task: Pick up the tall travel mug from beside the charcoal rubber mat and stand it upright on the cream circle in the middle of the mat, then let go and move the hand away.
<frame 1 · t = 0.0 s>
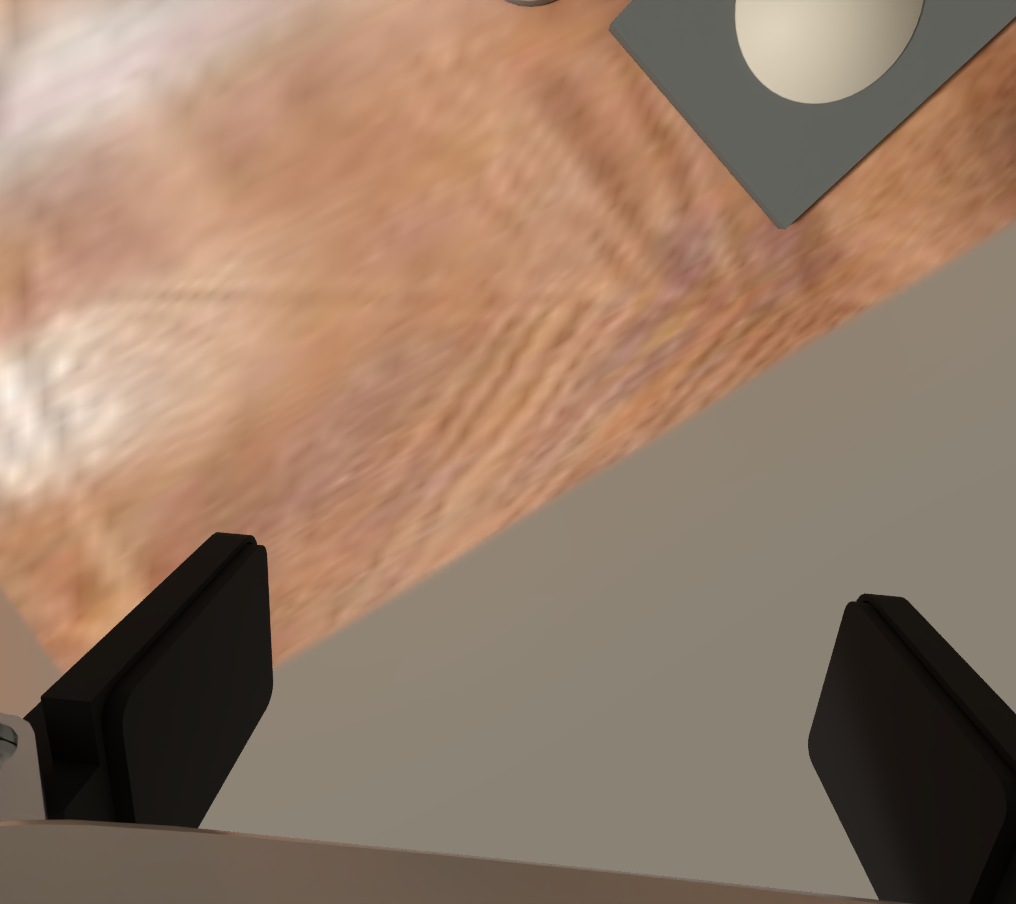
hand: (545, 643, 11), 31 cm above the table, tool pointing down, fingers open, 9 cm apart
mat: (818, 9, 34), on the table
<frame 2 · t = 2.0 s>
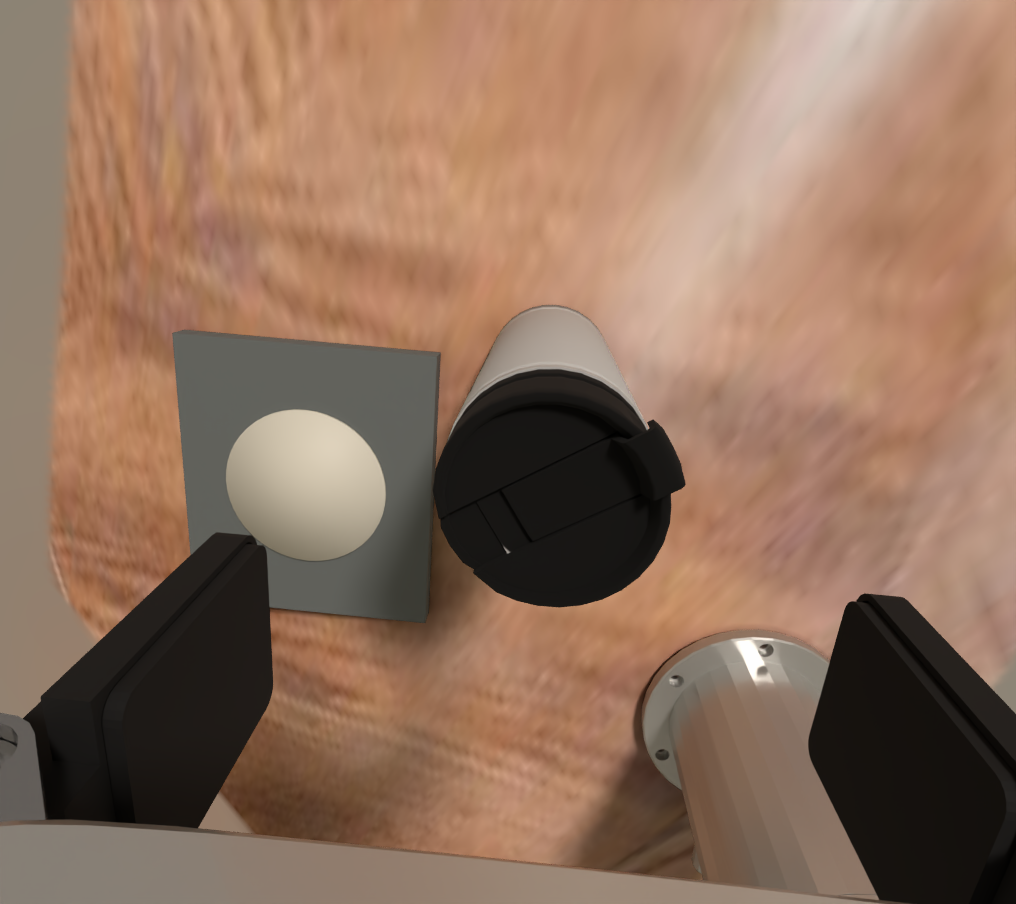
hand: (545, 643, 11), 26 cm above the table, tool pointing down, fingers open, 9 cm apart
travel mug: (552, 361, 36), on the table
mat: (313, 479, 38), on the table
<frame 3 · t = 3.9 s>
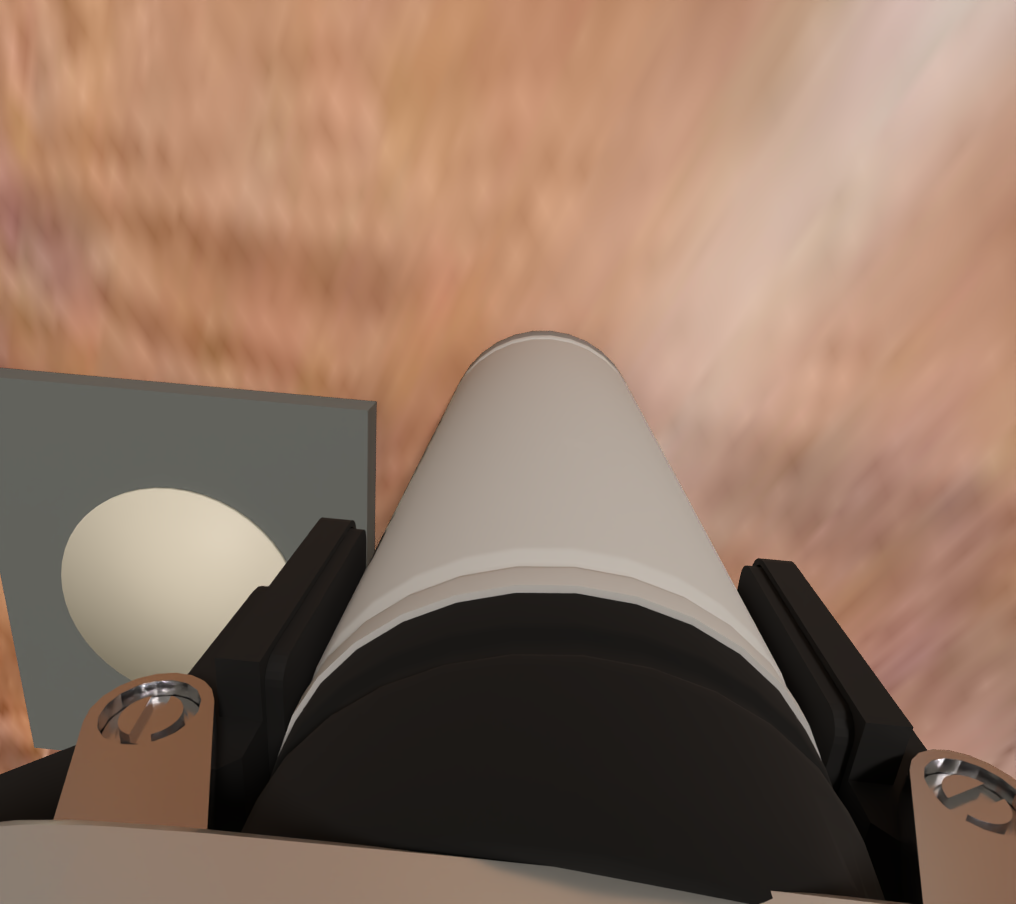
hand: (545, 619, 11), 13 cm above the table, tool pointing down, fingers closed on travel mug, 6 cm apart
travel mug: (546, 415, 24), on the table, touching gripper
mat: (198, 581, 26), on the table
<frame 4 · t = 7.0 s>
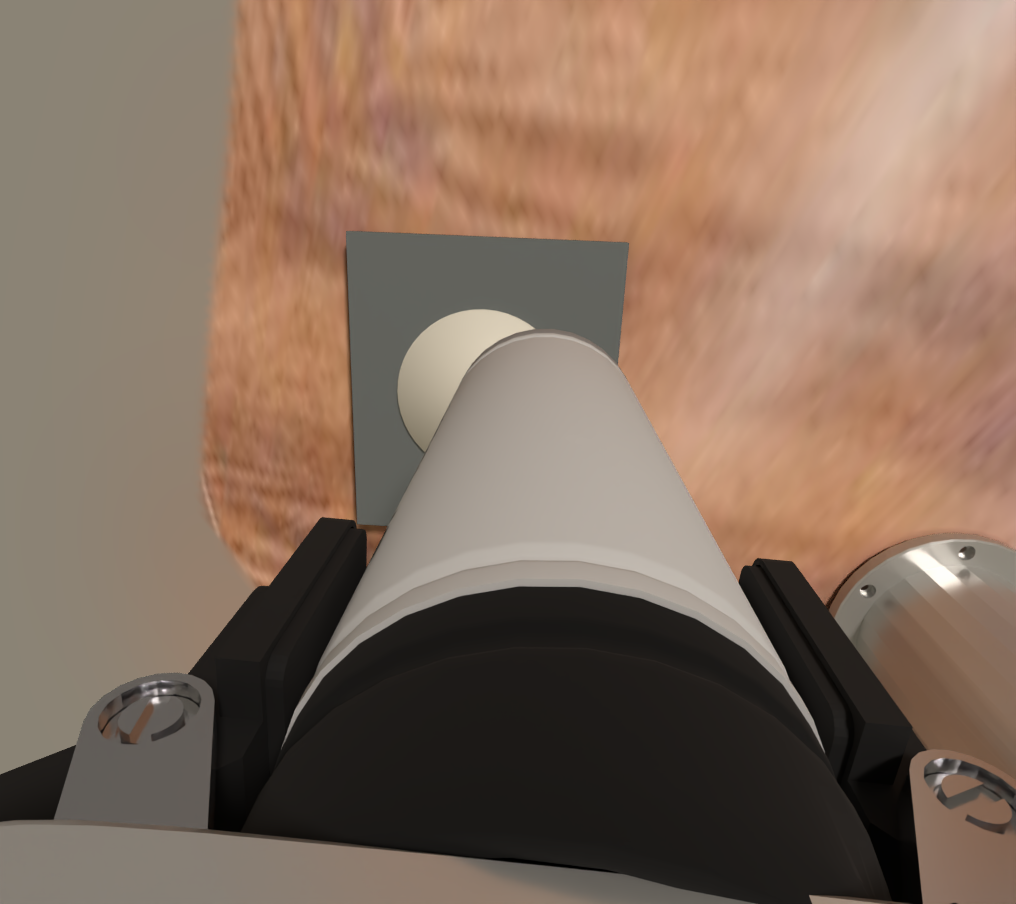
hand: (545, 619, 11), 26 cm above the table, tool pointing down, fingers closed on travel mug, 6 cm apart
travel mug: (547, 413, 24), point 13 cm above the table, touching gripper
mat: (484, 389, 37), on the table
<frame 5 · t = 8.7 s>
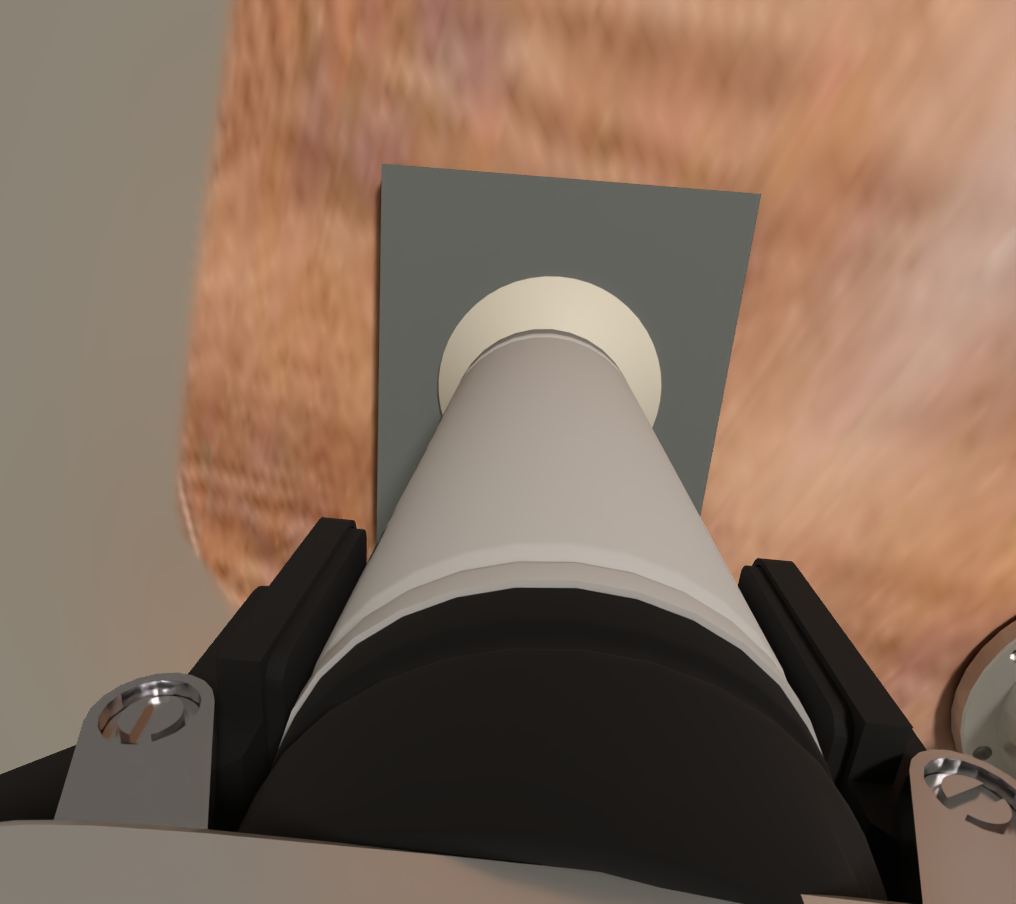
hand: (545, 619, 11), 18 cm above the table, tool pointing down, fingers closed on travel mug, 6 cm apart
travel mug: (546, 413, 23), point 5 cm above the table, touching gripper
mat: (548, 383, 28), on the table
when the fingers open (15 cm above the table, at t = 10.1 s): travel mug drops 1 cm, resting on mat.
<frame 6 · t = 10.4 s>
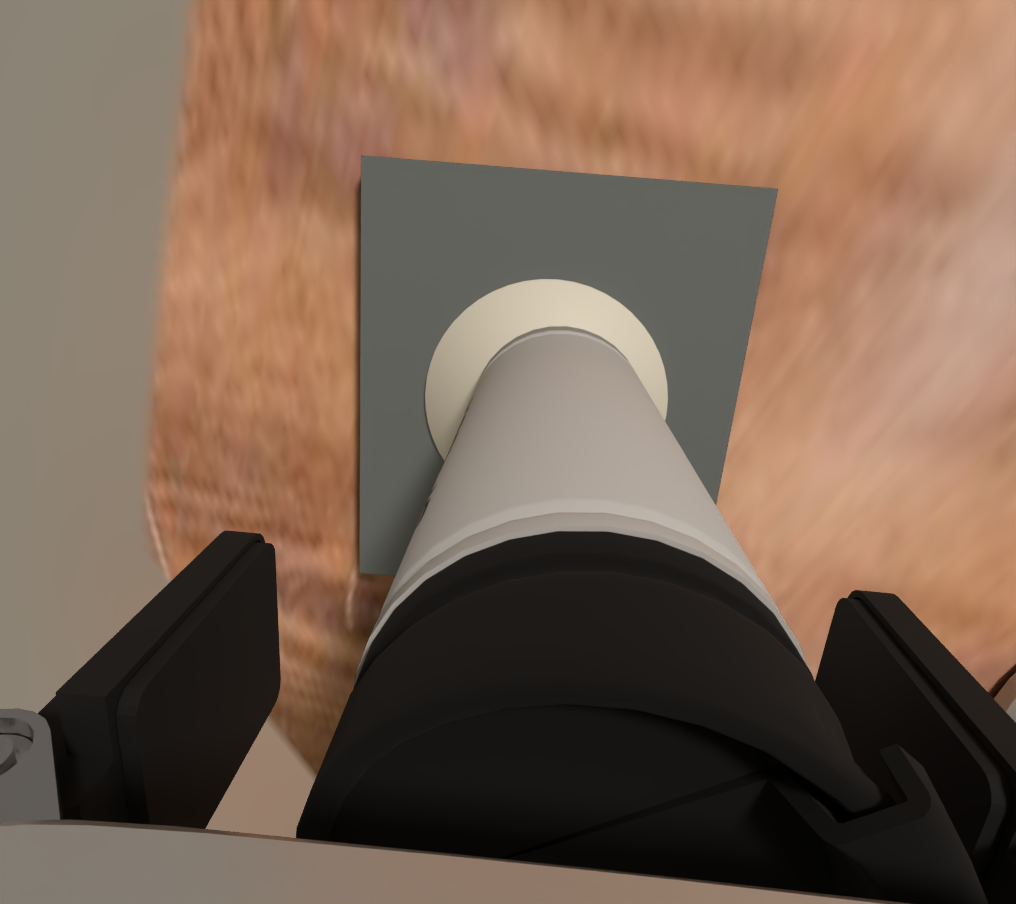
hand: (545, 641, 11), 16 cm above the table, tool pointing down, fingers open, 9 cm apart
travel mug: (561, 406, 25), point 1 cm above the table, touching mat
mat: (545, 394, 26), on the table
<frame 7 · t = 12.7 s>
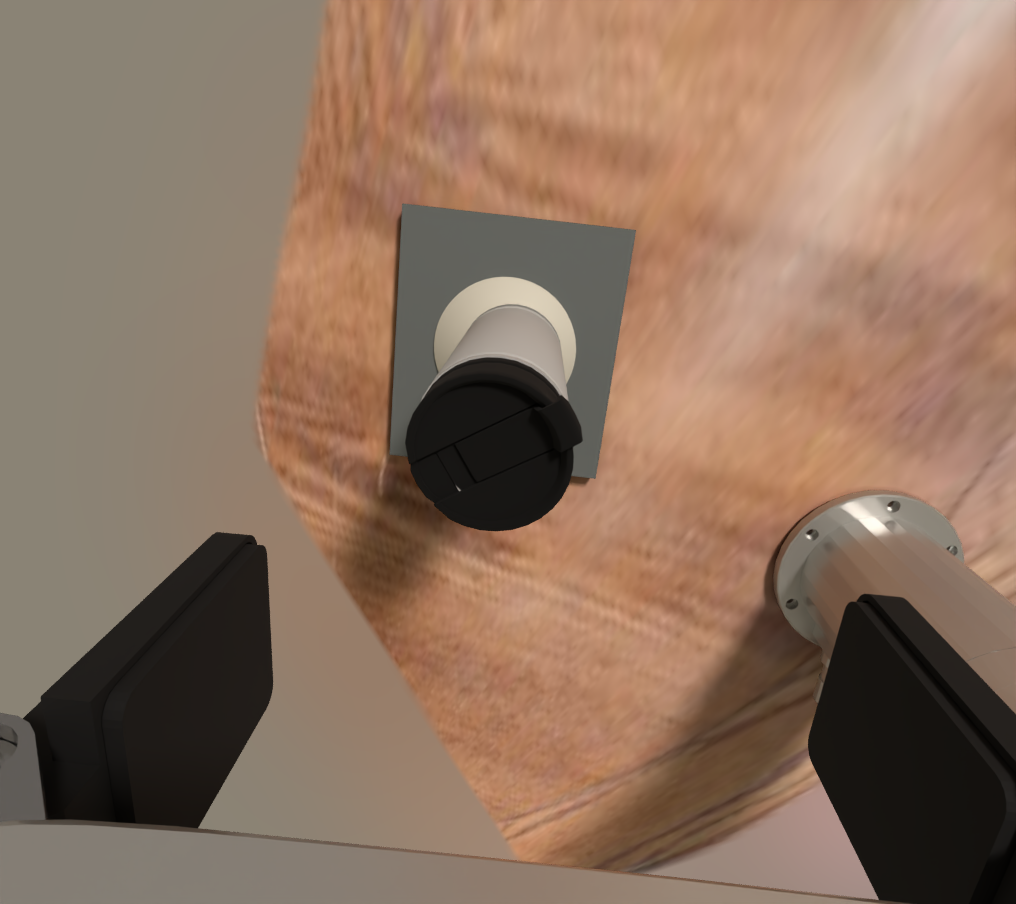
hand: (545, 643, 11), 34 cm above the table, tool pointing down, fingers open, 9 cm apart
travel mug: (514, 351, 42), point 1 cm above the table, touching mat
mat: (505, 346, 44), on the table
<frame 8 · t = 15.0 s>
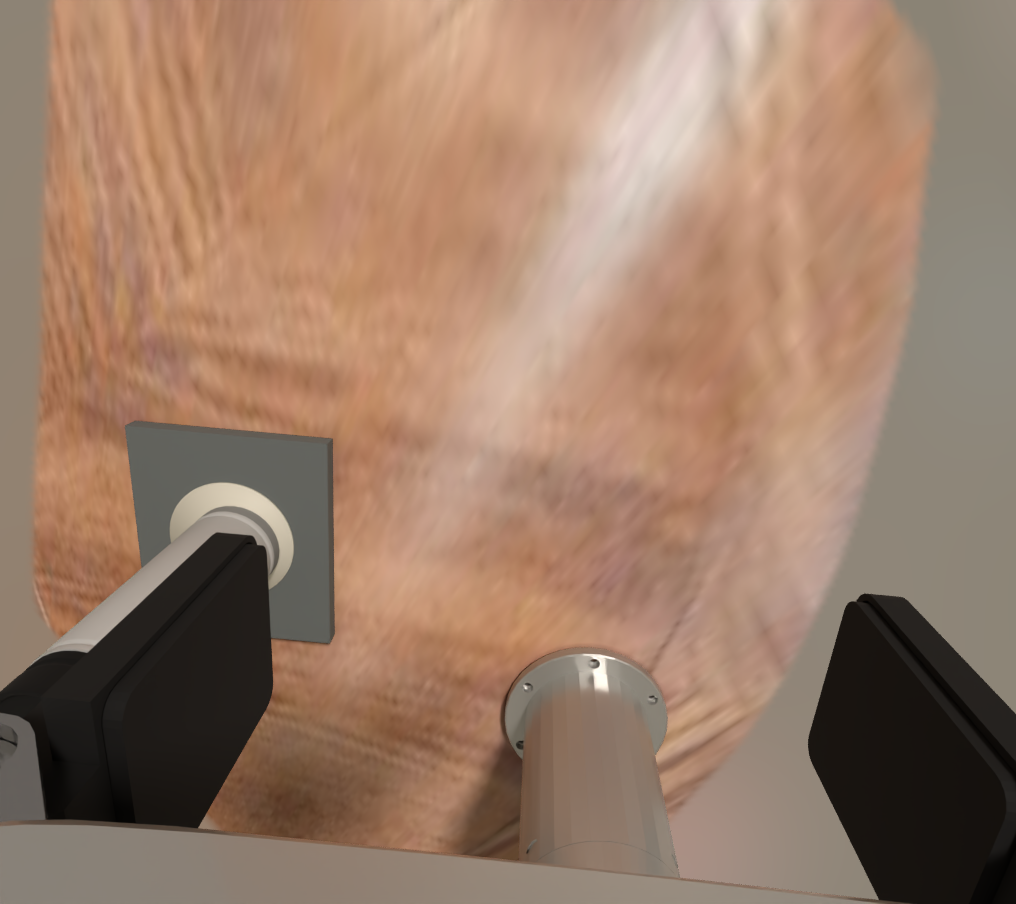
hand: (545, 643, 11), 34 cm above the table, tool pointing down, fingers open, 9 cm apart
travel mug: (241, 542, 48), point 1 cm above the table, touching mat
mat: (239, 532, 49), on the table
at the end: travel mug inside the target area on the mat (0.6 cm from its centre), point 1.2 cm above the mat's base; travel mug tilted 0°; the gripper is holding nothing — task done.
